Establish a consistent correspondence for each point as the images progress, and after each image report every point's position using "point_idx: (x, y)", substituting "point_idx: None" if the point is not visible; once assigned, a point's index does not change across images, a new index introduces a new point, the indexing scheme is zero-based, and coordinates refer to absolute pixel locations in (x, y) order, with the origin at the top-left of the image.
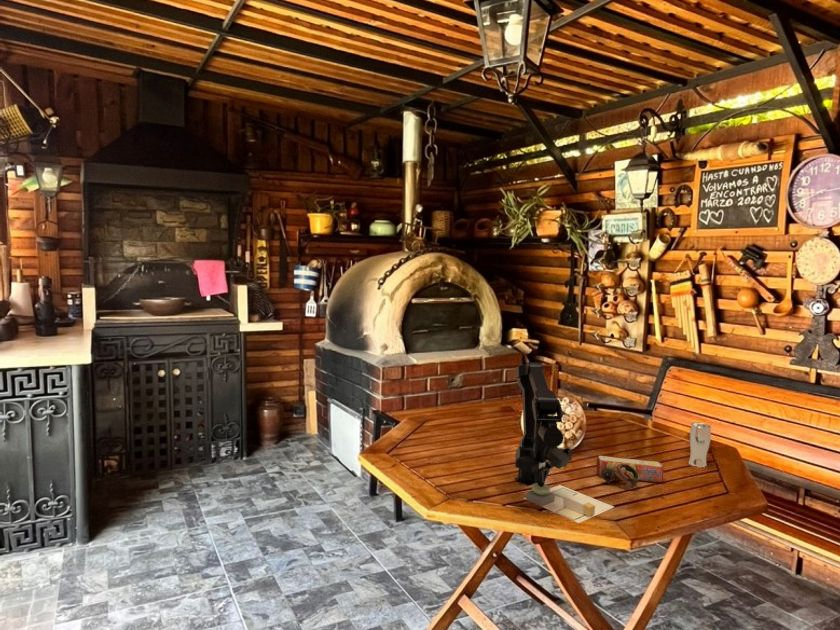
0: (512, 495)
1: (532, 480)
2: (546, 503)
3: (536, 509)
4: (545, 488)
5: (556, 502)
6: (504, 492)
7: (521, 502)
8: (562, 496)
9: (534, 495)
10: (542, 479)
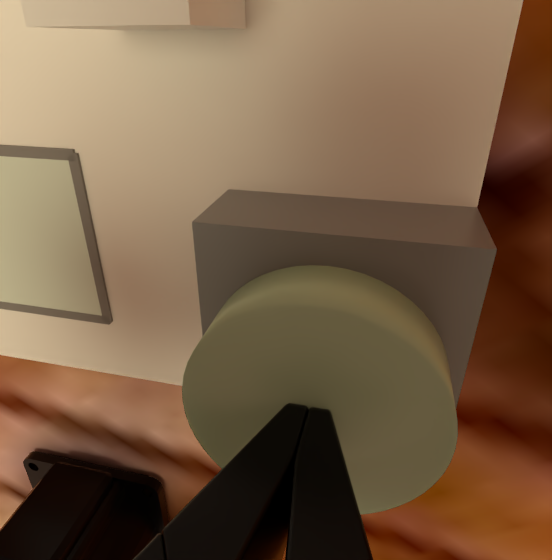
0: (408, 502)
1: (107, 504)
2: (377, 205)
3: (546, 224)
4: (325, 345)
5: (227, 156)
6: (407, 553)
7: (488, 405)
8: (61, 202)
9: (463, 372)
10: (338, 533)
